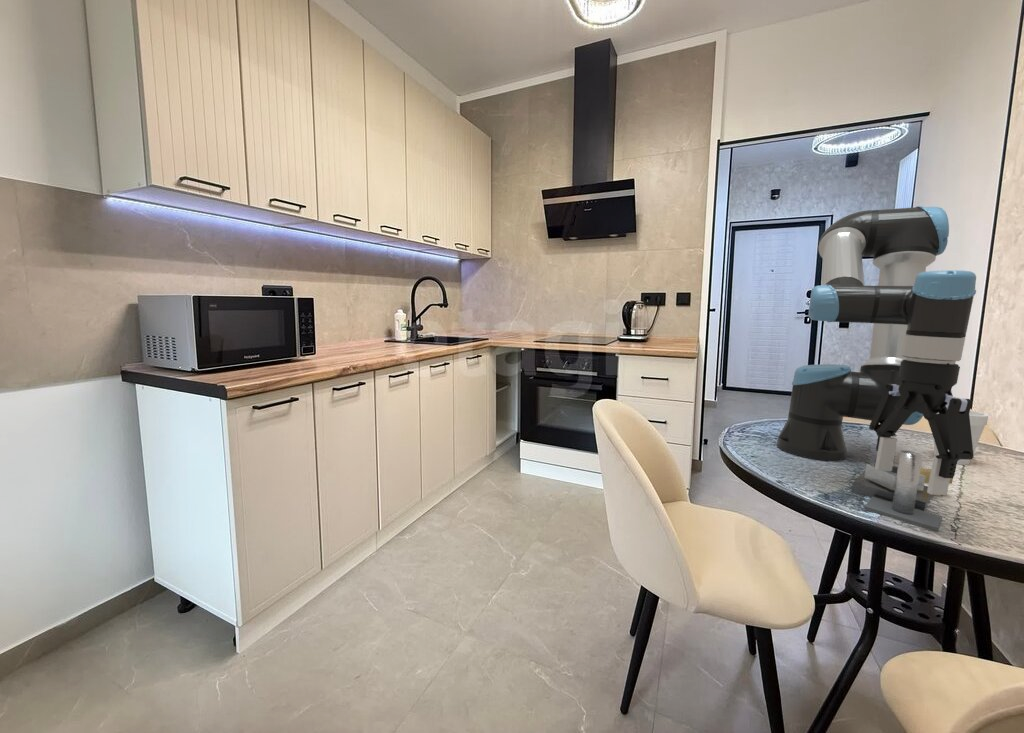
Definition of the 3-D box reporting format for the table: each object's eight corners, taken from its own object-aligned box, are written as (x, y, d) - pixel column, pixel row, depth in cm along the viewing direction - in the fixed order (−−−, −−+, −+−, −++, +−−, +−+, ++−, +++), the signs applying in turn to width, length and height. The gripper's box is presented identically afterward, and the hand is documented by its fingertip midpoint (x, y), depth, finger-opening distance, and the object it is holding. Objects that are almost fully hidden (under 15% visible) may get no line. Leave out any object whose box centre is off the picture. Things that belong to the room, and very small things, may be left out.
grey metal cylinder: (890, 509, 79) (898, 452, 78) (893, 505, 81) (902, 449, 80) (911, 515, 77) (920, 456, 76) (914, 511, 79) (923, 453, 78)
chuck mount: (851, 491, 89) (852, 482, 88) (863, 479, 96) (864, 470, 95) (923, 512, 80) (925, 502, 80) (931, 496, 87) (932, 487, 87)
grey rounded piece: (924, 451, 117) (933, 405, 115) (973, 460, 111) (983, 411, 110) (928, 460, 110) (937, 411, 108) (981, 470, 104) (991, 418, 102)
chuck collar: (892, 490, 84) (895, 475, 84) (864, 477, 91) (866, 463, 90) (964, 491, 85) (967, 476, 85) (931, 478, 92) (933, 464, 91)
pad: (863, 509, 81) (864, 506, 81) (871, 499, 85) (872, 496, 85) (937, 531, 73) (938, 528, 73) (941, 519, 78) (942, 516, 78)
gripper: (1027, 371, 64) (997, 511, 67) (893, 353, 86) (876, 459, 89) (978, 369, 64) (950, 509, 67) (857, 352, 86) (840, 458, 89)
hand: (908, 481), depth 78 cm, fingers open, 10 cm apart
